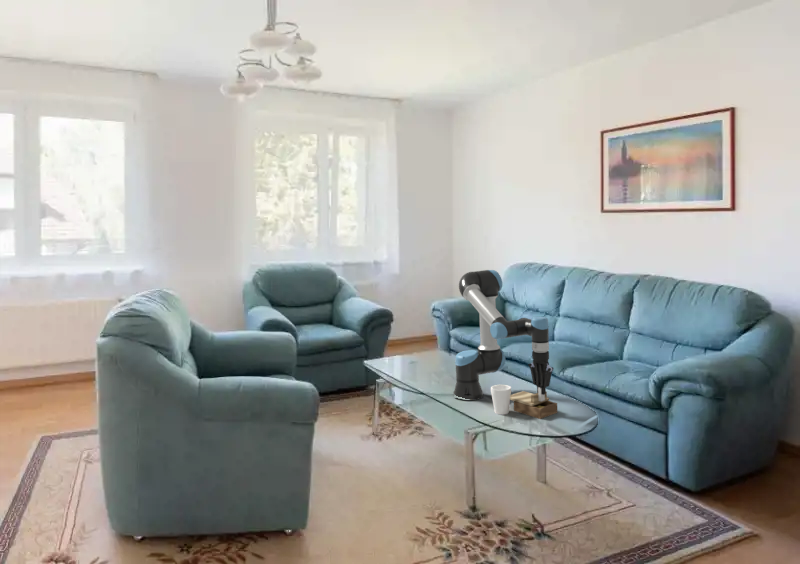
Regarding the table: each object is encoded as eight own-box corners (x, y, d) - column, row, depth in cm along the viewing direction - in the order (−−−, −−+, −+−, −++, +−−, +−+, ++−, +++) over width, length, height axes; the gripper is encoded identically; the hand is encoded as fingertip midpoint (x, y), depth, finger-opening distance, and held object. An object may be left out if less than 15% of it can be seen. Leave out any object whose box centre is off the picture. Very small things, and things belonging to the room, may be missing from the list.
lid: (506, 398, 287) (505, 389, 287) (523, 393, 294) (523, 384, 294) (531, 406, 275) (531, 396, 274) (549, 400, 282) (548, 390, 281)
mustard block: (535, 413, 278) (534, 407, 278) (539, 411, 281) (539, 405, 281) (544, 415, 275) (544, 409, 274) (549, 413, 278) (549, 407, 277)
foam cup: (498, 419, 277) (497, 391, 275) (487, 413, 285) (486, 386, 284) (515, 415, 281) (515, 388, 279) (504, 409, 289) (503, 383, 287)
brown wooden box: (513, 412, 284) (513, 401, 284) (531, 406, 291) (530, 395, 291) (540, 421, 271) (539, 409, 271) (557, 414, 278) (557, 403, 278)
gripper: (524, 349, 278) (525, 399, 280) (546, 354, 267) (547, 405, 270) (535, 347, 282) (536, 395, 285) (557, 351, 271) (558, 402, 274)
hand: (541, 400), depth 277 cm, fingers closed
